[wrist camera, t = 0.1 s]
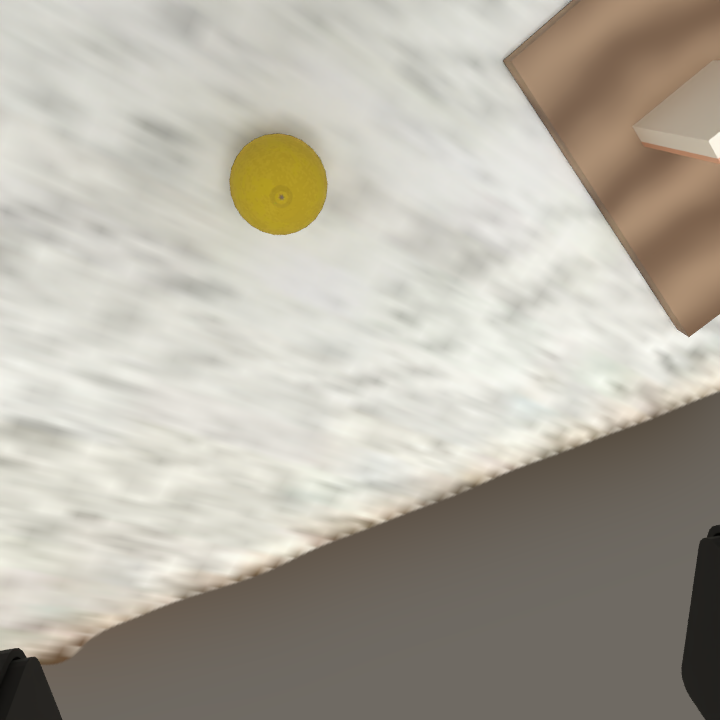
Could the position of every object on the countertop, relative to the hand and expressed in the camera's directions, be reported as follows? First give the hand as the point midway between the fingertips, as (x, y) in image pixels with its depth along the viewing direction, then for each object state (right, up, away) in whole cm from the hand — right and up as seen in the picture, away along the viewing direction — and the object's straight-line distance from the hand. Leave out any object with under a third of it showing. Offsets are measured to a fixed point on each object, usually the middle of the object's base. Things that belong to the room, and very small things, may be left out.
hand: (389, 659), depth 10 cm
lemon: (-6, +16, +33) cm, 37 cm away
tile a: (+20, +20, +33) cm, 44 cm away
